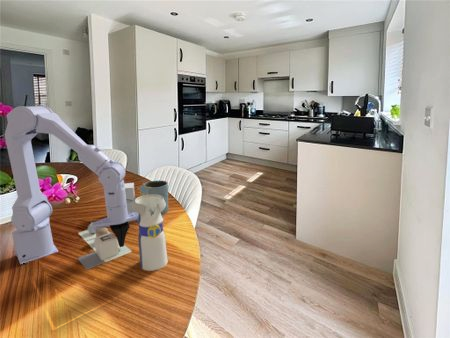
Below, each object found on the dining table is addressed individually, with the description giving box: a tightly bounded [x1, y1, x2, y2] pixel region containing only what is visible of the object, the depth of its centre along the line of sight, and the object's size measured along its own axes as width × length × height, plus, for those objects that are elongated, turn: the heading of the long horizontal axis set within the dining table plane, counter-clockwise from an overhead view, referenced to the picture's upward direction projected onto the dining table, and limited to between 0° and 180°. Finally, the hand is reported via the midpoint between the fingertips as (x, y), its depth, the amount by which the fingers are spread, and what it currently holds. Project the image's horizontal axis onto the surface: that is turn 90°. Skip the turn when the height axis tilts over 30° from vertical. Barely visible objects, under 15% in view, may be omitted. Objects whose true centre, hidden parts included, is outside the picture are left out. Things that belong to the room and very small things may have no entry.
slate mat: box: [77, 251, 106, 271], centre depth 78 cm, size 5×8×1 cm, turn 44°
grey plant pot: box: [143, 180, 169, 216], centre depth 111 cm, size 10×10×12 cm
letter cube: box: [93, 232, 119, 260], centre depth 80 cm, size 5×5×5 cm
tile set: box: [77, 229, 133, 263], centre depth 88 cm, size 8×25×1 cm, turn 44°
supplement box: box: [124, 182, 136, 213], centre depth 108 cm, size 7×7×13 cm
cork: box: [96, 227, 109, 237], centre depth 88 cm, size 4×4×4 cm
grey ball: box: [87, 223, 96, 233], centre depth 94 cm, size 4×4×4 cm
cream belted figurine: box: [133, 182, 169, 272], centre depth 73 cm, size 8×9×25 cm
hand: (121, 245), depth 84 cm, fingers closed
